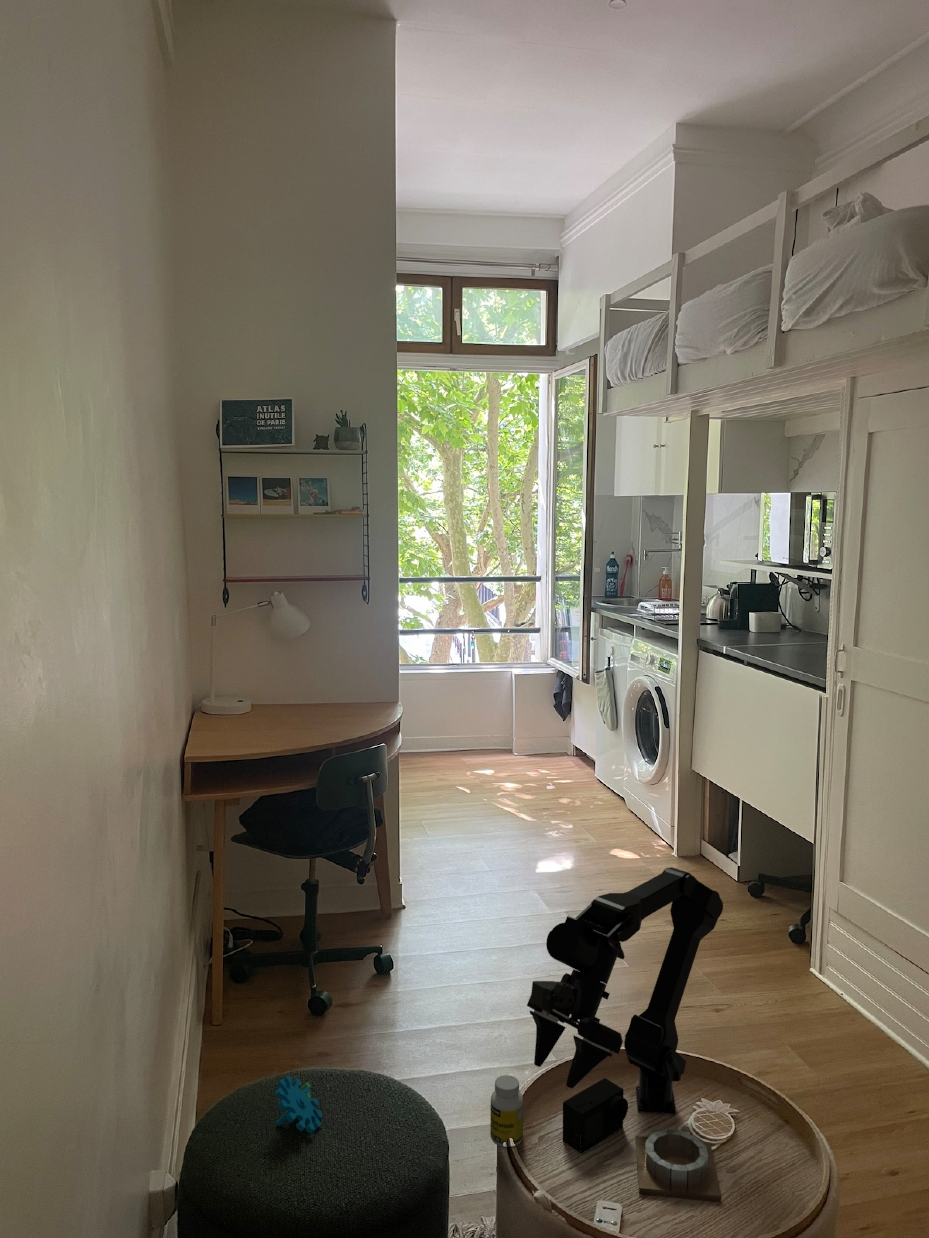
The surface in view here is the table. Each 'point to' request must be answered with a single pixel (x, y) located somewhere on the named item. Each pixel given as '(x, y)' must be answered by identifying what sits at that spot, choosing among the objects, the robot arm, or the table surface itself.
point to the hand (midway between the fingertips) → (552, 1076)
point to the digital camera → (593, 1115)
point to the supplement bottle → (506, 1111)
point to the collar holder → (676, 1166)
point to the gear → (298, 1104)
